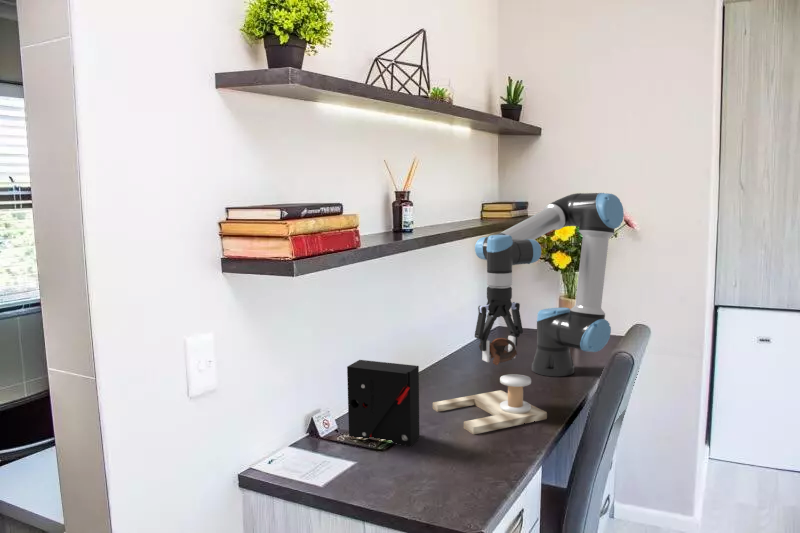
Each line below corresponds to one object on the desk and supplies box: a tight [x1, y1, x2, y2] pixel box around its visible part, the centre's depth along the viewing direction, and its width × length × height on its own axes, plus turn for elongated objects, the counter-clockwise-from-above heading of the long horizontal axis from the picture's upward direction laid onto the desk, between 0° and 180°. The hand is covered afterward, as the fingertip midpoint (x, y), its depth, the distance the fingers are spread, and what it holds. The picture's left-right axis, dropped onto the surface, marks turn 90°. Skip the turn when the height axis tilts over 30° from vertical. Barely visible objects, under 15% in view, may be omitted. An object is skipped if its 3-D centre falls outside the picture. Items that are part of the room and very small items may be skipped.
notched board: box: [432, 389, 548, 435], centre depth 187 cm, size 25×23×2 cm
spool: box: [499, 373, 532, 414], centre depth 185 cm, size 9×9×9 cm
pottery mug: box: [478, 337, 518, 366], centre depth 192 cm, size 12×10×8 cm
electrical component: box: [346, 359, 420, 447], centre depth 169 cm, size 18×10×20 cm, turn 66°
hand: (498, 358), depth 193 cm, fingers closed on pottery mug, 9 cm apart
